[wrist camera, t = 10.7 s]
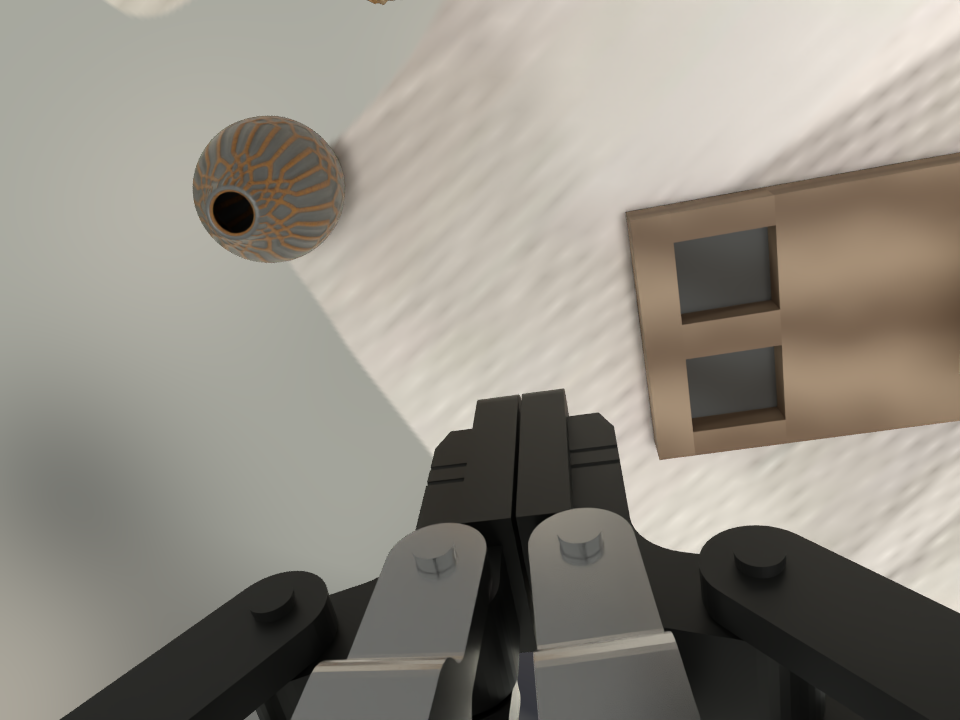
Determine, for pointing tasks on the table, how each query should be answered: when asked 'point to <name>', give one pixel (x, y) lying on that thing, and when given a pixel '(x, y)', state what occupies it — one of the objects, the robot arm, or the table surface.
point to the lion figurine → (379, 1)
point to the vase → (268, 189)
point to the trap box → (802, 308)
